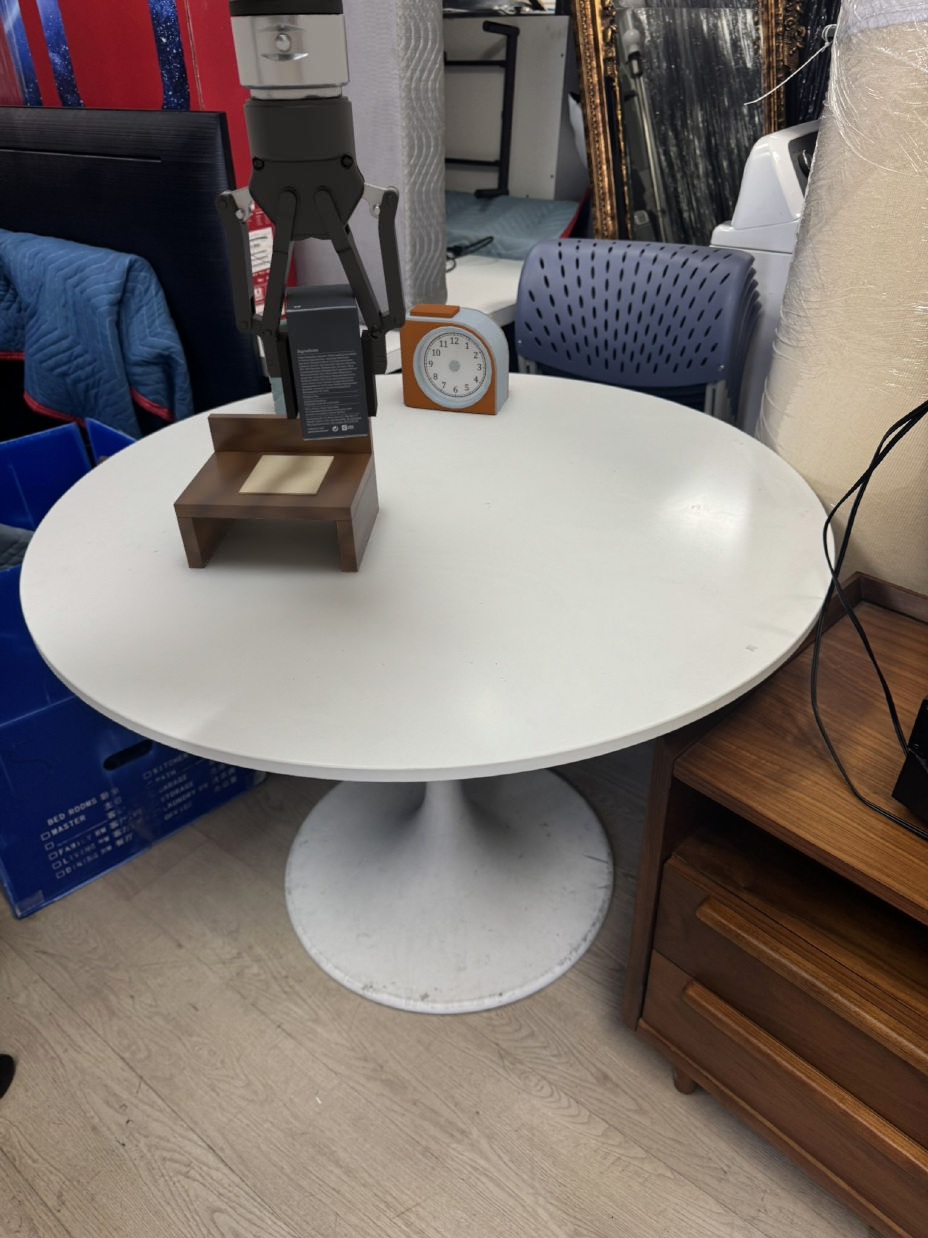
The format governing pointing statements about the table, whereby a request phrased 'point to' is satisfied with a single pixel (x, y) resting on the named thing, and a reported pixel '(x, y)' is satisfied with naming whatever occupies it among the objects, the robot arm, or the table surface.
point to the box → (327, 361)
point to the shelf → (279, 484)
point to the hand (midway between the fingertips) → (333, 411)
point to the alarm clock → (453, 359)
